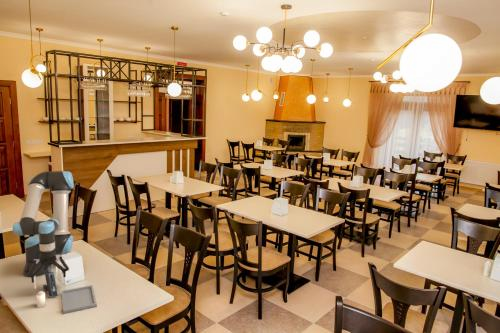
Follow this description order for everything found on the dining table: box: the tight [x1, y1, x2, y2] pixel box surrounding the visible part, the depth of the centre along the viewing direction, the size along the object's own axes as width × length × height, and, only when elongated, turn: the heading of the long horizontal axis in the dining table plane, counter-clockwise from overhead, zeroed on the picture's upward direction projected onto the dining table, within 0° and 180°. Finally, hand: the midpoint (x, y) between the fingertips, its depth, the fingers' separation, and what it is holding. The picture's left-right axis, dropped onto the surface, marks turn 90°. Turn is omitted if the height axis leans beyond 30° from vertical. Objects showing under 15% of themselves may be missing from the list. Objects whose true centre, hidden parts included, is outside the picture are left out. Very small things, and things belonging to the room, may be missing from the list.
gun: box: [42, 266, 59, 298], centre depth 199 cm, size 3×17×15 cm
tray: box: [61, 284, 98, 315], centre depth 194 cm, size 22×16×2 cm
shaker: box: [35, 290, 46, 309], centre depth 186 cm, size 4×4×9 cm
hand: (49, 285), depth 198 cm, fingers open, 13 cm apart
